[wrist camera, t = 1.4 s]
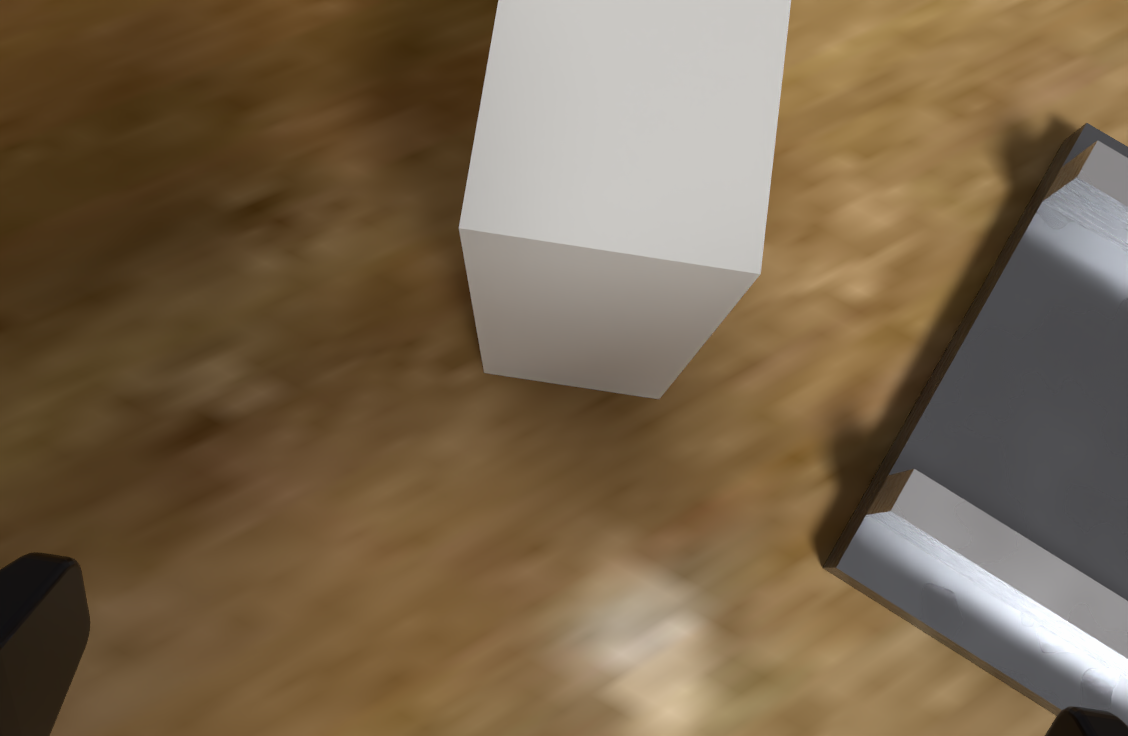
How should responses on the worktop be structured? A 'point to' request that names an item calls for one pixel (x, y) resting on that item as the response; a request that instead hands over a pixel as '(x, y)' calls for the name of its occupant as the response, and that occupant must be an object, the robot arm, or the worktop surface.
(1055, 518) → the rail plate
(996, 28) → the worktop surface
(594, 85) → the block
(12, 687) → the robot arm
